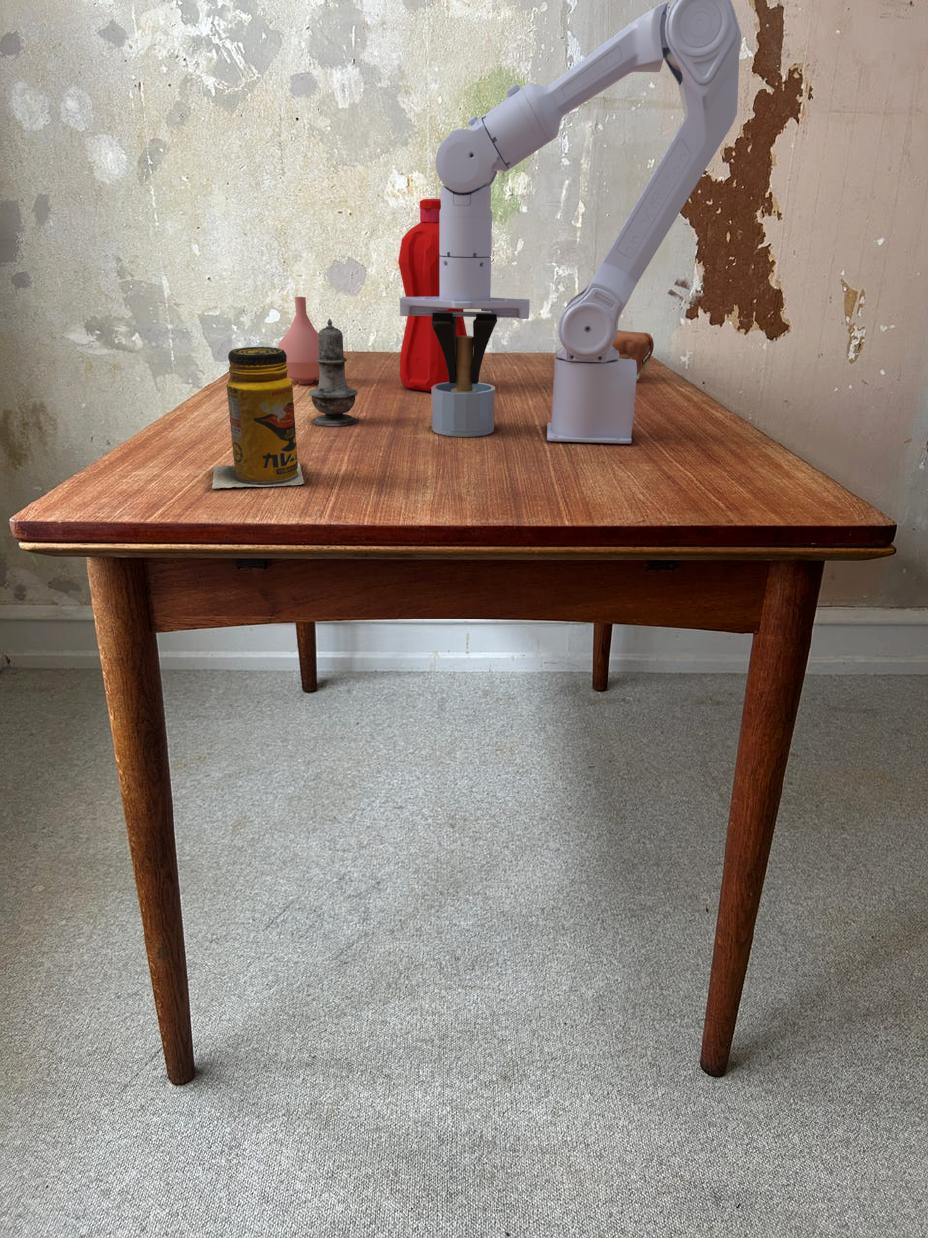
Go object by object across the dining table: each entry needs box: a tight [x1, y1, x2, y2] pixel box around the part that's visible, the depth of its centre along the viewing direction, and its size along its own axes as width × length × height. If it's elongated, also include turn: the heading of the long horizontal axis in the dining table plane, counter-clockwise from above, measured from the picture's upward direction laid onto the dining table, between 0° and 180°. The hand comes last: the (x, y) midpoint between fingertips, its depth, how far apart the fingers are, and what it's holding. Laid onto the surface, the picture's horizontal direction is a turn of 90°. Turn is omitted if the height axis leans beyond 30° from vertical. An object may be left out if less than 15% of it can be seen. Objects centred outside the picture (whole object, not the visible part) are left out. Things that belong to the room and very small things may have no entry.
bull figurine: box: [612, 329, 655, 382], centre depth 139 cm, size 4×13×8 cm, turn 42°
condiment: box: [211, 346, 305, 489], centre depth 84 cm, size 7×8×12 cm
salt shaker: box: [308, 318, 359, 427], centre depth 106 cm, size 6×6×12 cm
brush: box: [451, 335, 477, 393], centre depth 103 cm, size 3×3×8 cm
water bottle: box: [397, 198, 468, 393], centre depth 126 cm, size 9×11×25 cm
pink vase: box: [277, 296, 320, 385], centre depth 130 cm, size 8×8×12 cm
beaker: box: [431, 382, 497, 438], centre depth 105 cm, size 7×7×5 cm
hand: (463, 382), depth 104 cm, fingers closed on brush, 2 cm apart
